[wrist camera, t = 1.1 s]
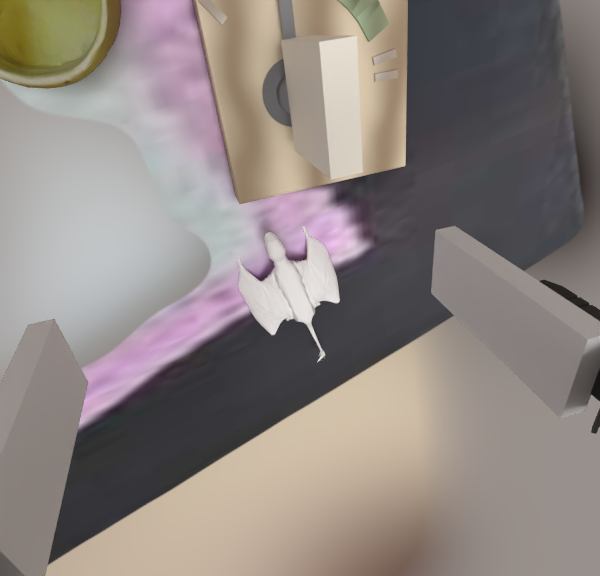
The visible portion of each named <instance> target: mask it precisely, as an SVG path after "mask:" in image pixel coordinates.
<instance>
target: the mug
mask: <svg viewBox="0 0 600 576" xmlns="http://www.w3.org/2000/svg"><path fill="white" fill-rule="evenodd" d="M120 14H121V4H120V0H0V78H1V79H3V80H6V81H9V82H11V83H15V84H18V85H22V86H25V87H33V88H56V87H62V86H67V85H70V84H73V83H75V82H78V81H80V80H82V79H83V78H85V77H86V76H87V75H89V74H90V73H91V72H92V71H93V70H94V69H95V68H96V67H97V66H98V65H99V64H100V63H101V62H102V61H103V59H104V58H105V57H106V55H107V53H108V52H109V50H110V48H111V46H112V44H113V43H114V41H115V38H116V36H117V32H118V29H119V25H120Z"/></svg>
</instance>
